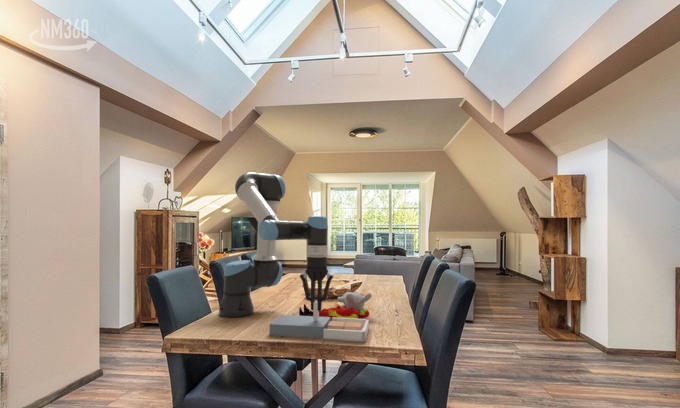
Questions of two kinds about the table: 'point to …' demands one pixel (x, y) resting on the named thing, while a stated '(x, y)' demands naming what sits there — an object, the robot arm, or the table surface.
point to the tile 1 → (336, 325)
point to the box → (348, 331)
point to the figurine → (336, 312)
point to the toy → (354, 300)
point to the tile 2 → (353, 326)
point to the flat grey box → (299, 326)
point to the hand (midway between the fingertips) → (316, 319)
